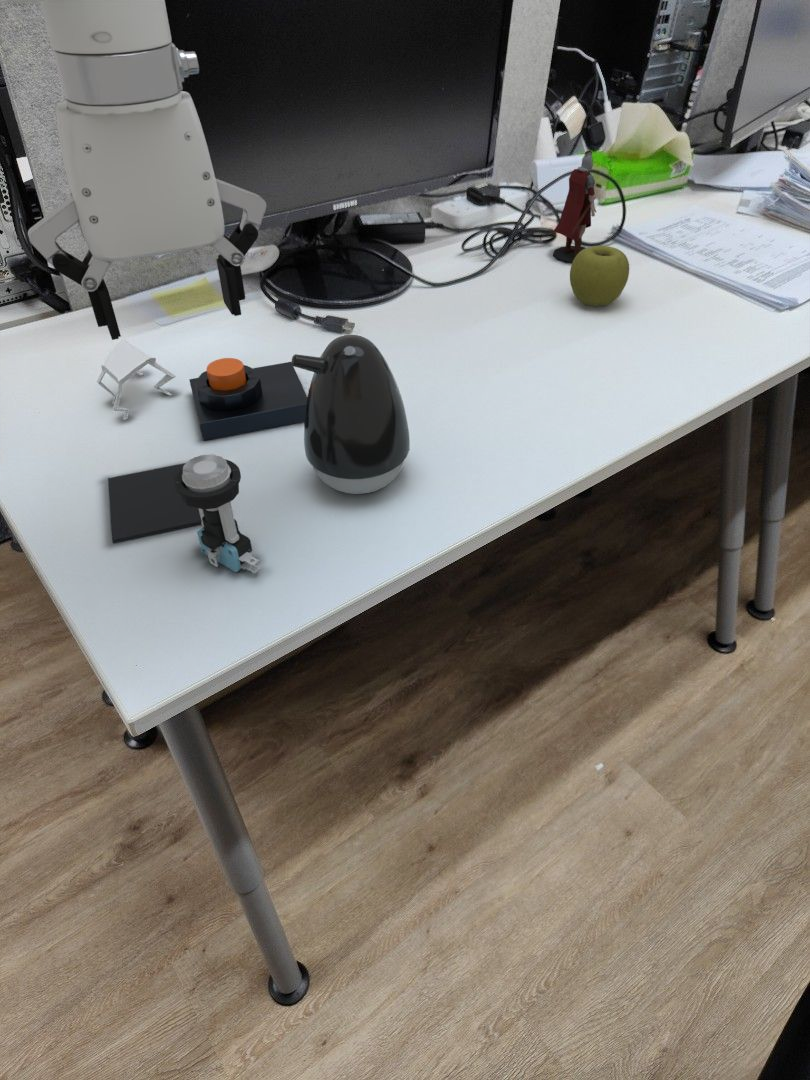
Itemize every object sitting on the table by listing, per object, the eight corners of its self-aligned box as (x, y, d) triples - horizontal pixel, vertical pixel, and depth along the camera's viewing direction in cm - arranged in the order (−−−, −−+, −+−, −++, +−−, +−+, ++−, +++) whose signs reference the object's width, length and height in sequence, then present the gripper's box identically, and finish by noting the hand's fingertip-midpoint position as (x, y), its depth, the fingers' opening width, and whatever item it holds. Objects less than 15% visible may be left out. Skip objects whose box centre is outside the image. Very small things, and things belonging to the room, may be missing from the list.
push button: (279, 559, 68) (263, 468, 61) (235, 593, 65) (213, 502, 58) (228, 530, 71) (207, 440, 64) (183, 561, 68) (157, 471, 61)
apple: (601, 319, 102) (609, 267, 97) (554, 301, 106) (560, 250, 102) (634, 302, 106) (644, 251, 101) (588, 285, 110) (595, 235, 105)
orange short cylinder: (212, 395, 82) (208, 378, 81) (207, 377, 85) (204, 361, 84) (249, 388, 83) (246, 371, 82) (243, 371, 86) (240, 355, 85)
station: (203, 441, 82) (196, 409, 80) (193, 395, 89) (185, 364, 87) (312, 420, 85) (308, 388, 82) (293, 377, 92) (289, 347, 89)
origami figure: (187, 406, 88) (178, 367, 84) (114, 426, 85) (101, 387, 81) (160, 362, 96) (151, 325, 92) (92, 379, 93) (80, 341, 89)
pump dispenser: (297, 459, 79) (279, 322, 69) (393, 441, 81) (388, 305, 71) (319, 519, 72) (301, 375, 62) (423, 497, 74) (423, 355, 64)
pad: (113, 543, 70) (111, 540, 70) (109, 481, 77) (107, 478, 77) (222, 519, 72) (221, 516, 72) (208, 461, 79) (207, 458, 79)
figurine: (605, 258, 118) (621, 152, 108) (567, 268, 115) (580, 161, 105) (577, 244, 122) (591, 142, 112) (540, 253, 120) (551, 149, 110)
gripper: (233, 57, 56) (264, 285, 67) (-22, 80, 51) (58, 322, 62) (262, 75, 51) (290, 318, 62) (-19, 103, 45) (68, 363, 57)
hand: (174, 320), depth 62 cm, fingers open, 9 cm apart
